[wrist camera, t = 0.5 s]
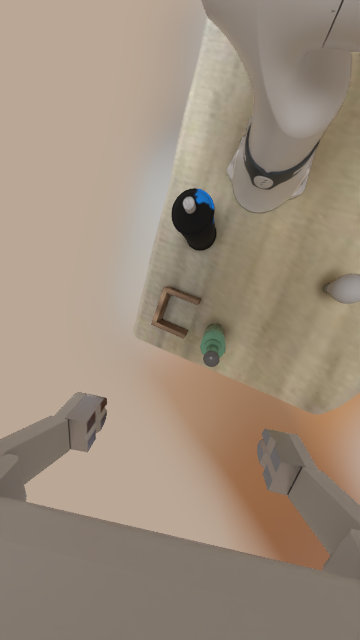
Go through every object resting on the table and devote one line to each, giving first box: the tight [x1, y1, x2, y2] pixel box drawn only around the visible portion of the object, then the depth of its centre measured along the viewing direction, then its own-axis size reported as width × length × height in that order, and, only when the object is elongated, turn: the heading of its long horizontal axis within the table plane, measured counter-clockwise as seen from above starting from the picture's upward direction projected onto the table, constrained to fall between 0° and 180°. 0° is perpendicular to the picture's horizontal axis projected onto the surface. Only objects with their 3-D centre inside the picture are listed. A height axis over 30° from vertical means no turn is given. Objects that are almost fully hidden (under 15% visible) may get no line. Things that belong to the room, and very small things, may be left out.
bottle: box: [200, 324, 225, 367], centre depth 44 cm, size 6×6×20 cm
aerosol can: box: [172, 188, 216, 250], centre depth 40 cm, size 8×8×20 cm
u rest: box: [151, 287, 201, 339], centre depth 52 cm, size 11×10×5 cm
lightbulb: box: [324, 274, 360, 304], centre depth 40 cm, size 6×6×11 cm
